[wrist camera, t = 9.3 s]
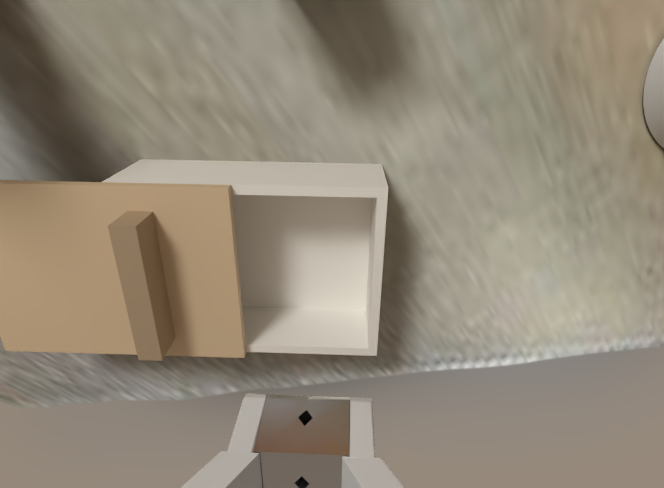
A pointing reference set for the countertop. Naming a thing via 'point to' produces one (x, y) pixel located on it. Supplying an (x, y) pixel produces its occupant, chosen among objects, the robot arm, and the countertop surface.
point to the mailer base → (298, 248)
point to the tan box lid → (119, 269)
